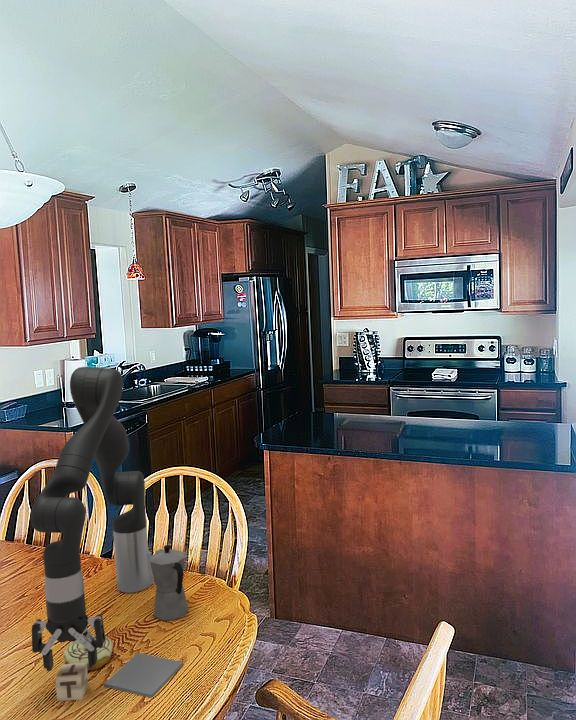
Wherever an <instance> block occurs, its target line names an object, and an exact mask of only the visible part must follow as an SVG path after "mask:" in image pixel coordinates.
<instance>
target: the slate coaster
mask: <svg viewBox="0 0 576 720" xmlns="http://www.w3.org/2000/svg"><path fill="white" fill-rule="evenodd" d="M183 666H184V662H183V661H178V660H175V659H169V658H164V657H159V656H156V655H151V654H147V653H141V652H137V653H136V654H135V655H134V656H133V657H132V658H130V659H129V660H128V661H127V662H126V663H125V664H124V665H123V666H122V667H120V669H118V670H117V671H116V672H114V674H113V675H112V676H110V677H109V678H108V679H107V680H106V681H105V682H104V683H103V686H104V687H106V688H111V689H113V690H114V689H115V690H119V691H123V692H127V693H131V694H134V695H135V694H136V695H139V696H144V697H147V698H151V699H152V698H153V697H154V696H155V695H156V694H157V693H158V692H159V691H160V690H161V689H162V687H164V685H165V684H166V683H167V682H168V681H170V679H171V678H172V677H173V676H174V675H175V674H177V672H178V671H179V669H181V668H182V667H183Z"/></svg>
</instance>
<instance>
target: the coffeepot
mask: <svg viewBox="0 0 576 720" xmlns="http://www.w3.org/2000/svg"><path fill="white" fill-rule="evenodd" d="M170 547H171V546H170V545H169V544H166V545H164V546H163V548H160V549H159V550H157V549H156V550H155V553H153V554H151V556H150V564H151V568H152V573H153V583H154V585H155V587H156V588H155V598H154V599H155V601H154V615H153V617H154V618H155V619H157V620H159V621H163V622H164V621H169V622H170V621H174V620H179V619H181V618H183V617H184V616H186V615H187V614H188V613H189V606H188V601H187V597H186V593H185V588H184V585H183V583H184V574H185V572H184V570H185V559H186V557H185V551H183V550H178V549H175V548H174V549H170Z"/></svg>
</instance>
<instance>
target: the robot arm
mask: <svg viewBox="0 0 576 720" xmlns="http://www.w3.org/2000/svg"><path fill="white" fill-rule="evenodd" d="M69 380H70V381H69V390H70V396H71V399H72V401H73V405H74V406H75V408H76V411H77V412H78V414H79V417H80V419H81V421H82V422H83V426H81V428H79V429H78V430H76V432H75V433H74V434H73V435H72V436H70V438H69V439H68V440H67V441H66V442H65V444H64V445H63V447H62V449H61V450H60V453H59V456H58V460H57V462H56V464H55V468H54V471H53V473H52V476H51V477H50V479H49V480H48V481H47V482H46V484H45V486H44V487H43V489H42V490H41V492H40V493H39V495H38V496H37V498H36V499H35V501H34V502H33V504H32V507H31V511H30V515H29V516H30V523H31V526H32V528H33V529H34V531H36V532H39V533H45V534H46V533H50V534H51V533H53V534H57V533H59V534H62V539H60V540H56V541H53V542H50V543H48V545H46V546H45V547H44V549H43V555H42V556H43V567H44V595H45V605H46V606H45V607H46V608H45V609H46V617H47V620H46V621H42V619H41V618H37V619H36V620H35V621H34V623H33V624H32V626H31V649H32V652H33V653H34V654H37V653H40V654H41V655H42V664H43V668H44V669H45V670H46V672H51V671H52V670H53V668H54V657H53V649H52V648H53V646H54V644H55V643H56V641H58V642H59V643H66V642H70V643H72V642H75V641H76V640H78V641H79V642H80V643H81V644H82V645H84V646H85V647H86V648H87V649H88V663H89V668H93V666H94V665H95V664H96V661H97V648H101V647H102V646H103V643H104V642H105V636H106V632H105V626H104V618H103V616H102V614H97V615H96V616H95V617H88V615H87V609H86V595H85V588H86V587H85V583H84V582H85V581H84V576H83V572H82V571H83V570H82V561H81V551H80V550H81V544H82V537H83V531H84V528H85V522H86V518H87V516H86V515H87V511H86V507H85V504H84V502H83V501H82V500H81V499H80V498H78V497H73V496H71V497H68V495H70V494H74V493H77V492H80V491H82V490H83V489H84V488H85V487H86V486H87V483H88V479H89V475H90V472H91V469H92V467H93V463H94V459H95V461H96V464H97V467H98V471H99V474H100V479H101V483H102V484H101V485H102V489H103V494H104V498H105V501H106V502H107V504H108V505H109V506H114V507H115V506H116V507H117V506H118V507H119V506H120V507H121V506H130V505H131V506H132V508H131V509H129V510H128V511H126V512H124V513H121V514H119V515H117V516H116V517H115V518H114V519H113V520H112V532H113V533H112V534H113V546H114V557H115V559H114V561H115V569H116V571H115V572H116V574H115V575H116V585H117V590H118V591H119V592H121V593H125V594H126V593H127V594H129V593H130V594H131V593H137V592H141V591H144V590H146V589H147V588H149V587H150V586H152V585H154V577H153V573H152V568H151V564H150V556H151V555H152V551H150V550H149V543H148V541H149V540H148V532H147V531H148V529H147V514H146V513H147V512H146V487H145V486H146V484H145V482H146V481H145V477H144V474H143V472H141V471H140V470H134V471H133V470H132V471H118V470H119V468H120V467H121V465H122V464H123V463H124V462H125V460H126V458H127V457H128V455H129V453H130V443H129V438H128V434H127V430H126V428H125V427H124V425H123V424H122V423H121V421H119V419H117V418H116V417H115V416H114V414H115V412H116V409H117V407H118V406H119V404H120V401H121V398H122V393H123V389H124V381H123V380H124V379H123V376H122V373H121V372H120V371H119V370H117V369H115V368H108V367H96V366H81V367H77V368H76V369H74V370H73V372H72V373H71V375H70V379H69ZM117 471H118V472H117ZM88 625H89V626H90V627H91V629H93V630H94V635H96V640H95V639H94V638H93V636H92V634H91V632H90V630H89V629H88V628H87V627H88ZM45 629H46V631H48V633H49V634H50V635H51V636H50V638H49V639H48V640H47V642H46V643H44V642H43V632H44V630H45Z"/></svg>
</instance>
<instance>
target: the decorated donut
mask: <svg viewBox="0 0 576 720" xmlns="http://www.w3.org/2000/svg"><path fill="white" fill-rule="evenodd" d="M91 635H92V634H91ZM92 636H93V638H94V639H95V640H96V635H95V634H93V635H92ZM113 646H114V645H113V642H112V640H111V639H110V638H109V637H107V636H106V635H105V642H104V643H103V646H102V647H101V648H97V661H96V664H95V665H94V666H93V668H89V663H88V649H87V648H86V647H85V646H84V645H82V644H81V643H80V642H79V641H78V640H76V641H75V642H70V643H69V644H68V645H67V646H66V648H65V650H64V652H63V658H64V661H65V662H66V663H65V664H74V663H87V672H89V671H94V670H97V669H101V668H102V667H103V666H104V665H106V664H107V663H108V662H110V660H111V658H112V657H111V656H112V654H113V649H114V648H113Z"/></svg>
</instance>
